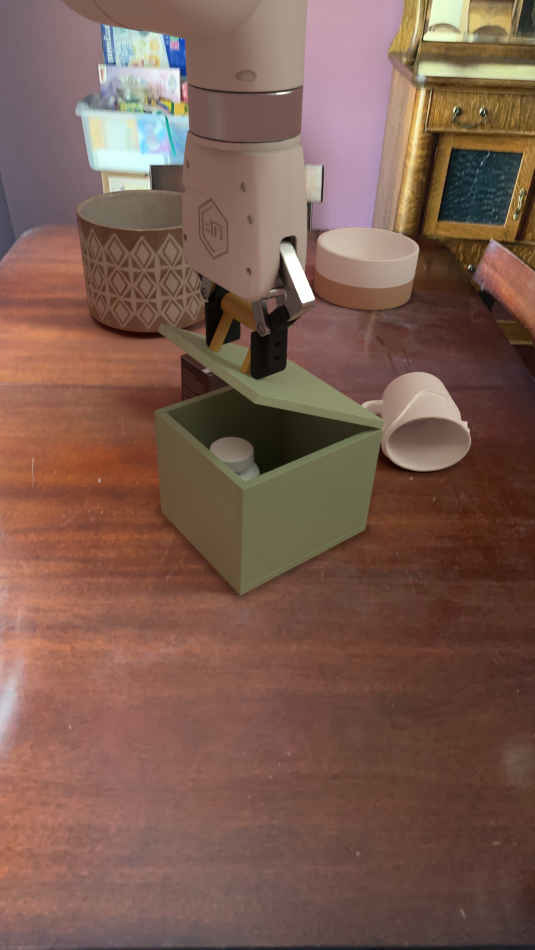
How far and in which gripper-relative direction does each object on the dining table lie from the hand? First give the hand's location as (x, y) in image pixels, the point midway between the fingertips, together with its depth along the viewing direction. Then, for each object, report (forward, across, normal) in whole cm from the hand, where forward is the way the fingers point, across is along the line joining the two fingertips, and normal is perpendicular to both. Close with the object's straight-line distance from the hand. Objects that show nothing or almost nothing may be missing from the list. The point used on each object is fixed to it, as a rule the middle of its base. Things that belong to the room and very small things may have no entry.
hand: (245, 355), depth 56 cm
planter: (+20, -49, +17) cm, 56 cm away
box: (+20, -20, +10) cm, 30 cm away
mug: (+21, -1, +24) cm, 31 cm away
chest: (+20, 0, +2) cm, 20 cm away
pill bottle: (+19, 0, -2) cm, 19 cm away
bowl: (+21, -39, +53) cm, 69 cm away
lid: (+3, 0, +3) cm, 5 cm away
